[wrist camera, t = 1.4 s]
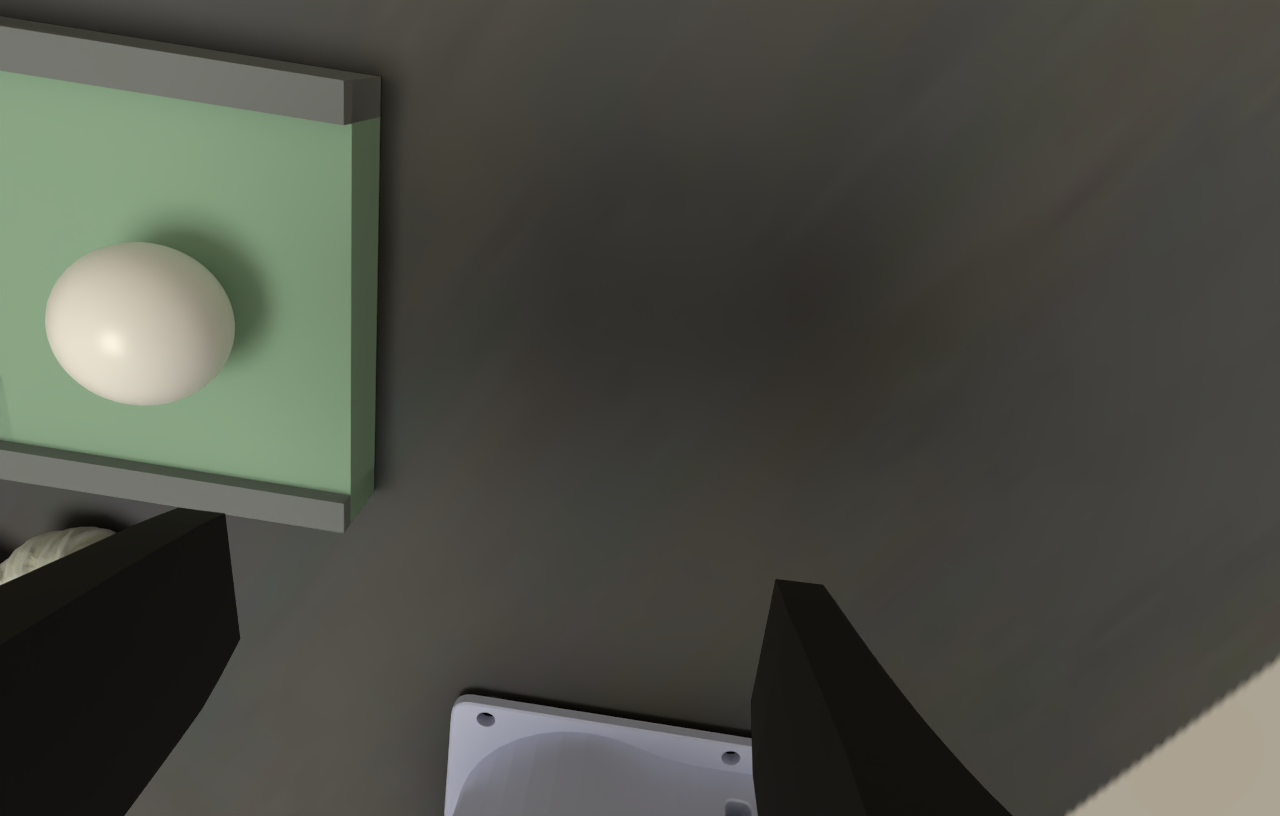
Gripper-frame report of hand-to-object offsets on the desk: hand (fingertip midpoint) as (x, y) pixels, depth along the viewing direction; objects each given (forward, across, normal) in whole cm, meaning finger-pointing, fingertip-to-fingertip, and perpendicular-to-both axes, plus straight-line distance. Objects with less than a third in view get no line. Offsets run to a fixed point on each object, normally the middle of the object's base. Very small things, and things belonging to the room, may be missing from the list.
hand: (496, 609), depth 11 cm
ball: (+6, +8, -1) cm, 11 cm away
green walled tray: (+10, +12, -1) cm, 15 cm away
